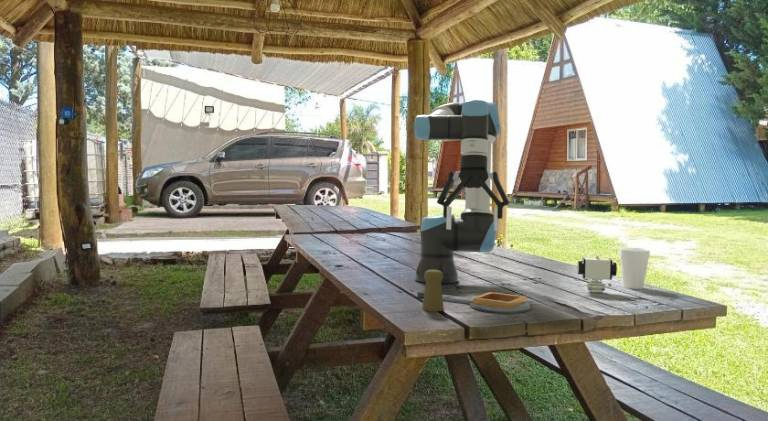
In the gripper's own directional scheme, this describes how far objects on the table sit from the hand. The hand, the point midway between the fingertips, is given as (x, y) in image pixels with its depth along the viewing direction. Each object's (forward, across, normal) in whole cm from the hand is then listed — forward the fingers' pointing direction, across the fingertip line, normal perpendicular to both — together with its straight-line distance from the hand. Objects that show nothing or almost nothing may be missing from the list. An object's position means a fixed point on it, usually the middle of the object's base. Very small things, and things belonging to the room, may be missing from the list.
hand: (472, 230), depth 178 cm
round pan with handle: (+21, -1, +8) cm, 23 cm away
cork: (+23, -10, -4) cm, 25 cm away
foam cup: (+18, +45, +56) cm, 74 cm away
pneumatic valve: (+19, +33, +41) cm, 56 cm away
